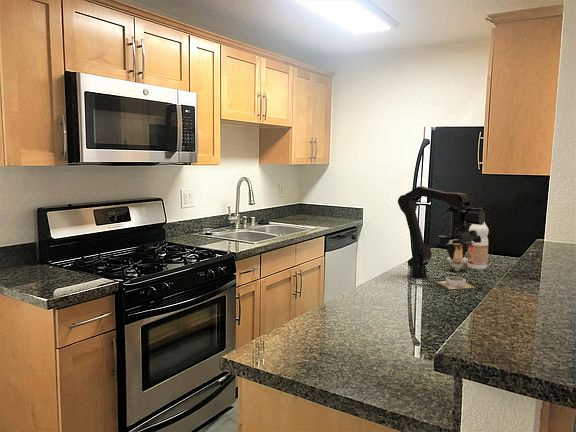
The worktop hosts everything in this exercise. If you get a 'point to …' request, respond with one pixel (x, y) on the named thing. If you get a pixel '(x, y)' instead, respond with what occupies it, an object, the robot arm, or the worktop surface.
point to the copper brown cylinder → (457, 254)
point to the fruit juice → (478, 248)
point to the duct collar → (455, 281)
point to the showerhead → (458, 266)
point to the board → (455, 287)
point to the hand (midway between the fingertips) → (456, 259)
